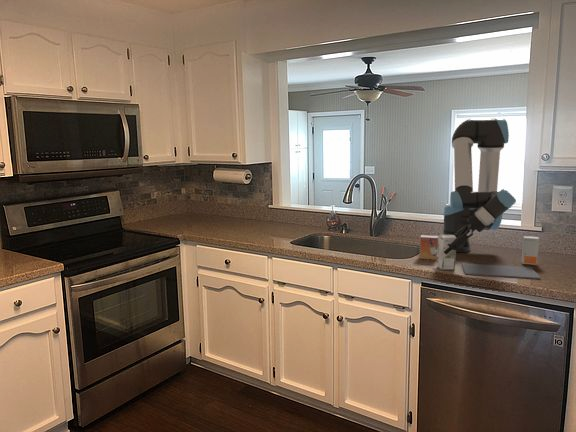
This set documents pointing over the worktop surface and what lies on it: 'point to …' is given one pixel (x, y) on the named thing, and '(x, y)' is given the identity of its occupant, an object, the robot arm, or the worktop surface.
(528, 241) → the skincare box
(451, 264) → the syrup box
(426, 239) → the small box
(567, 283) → the worktop surface
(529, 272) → the charcoal mat
